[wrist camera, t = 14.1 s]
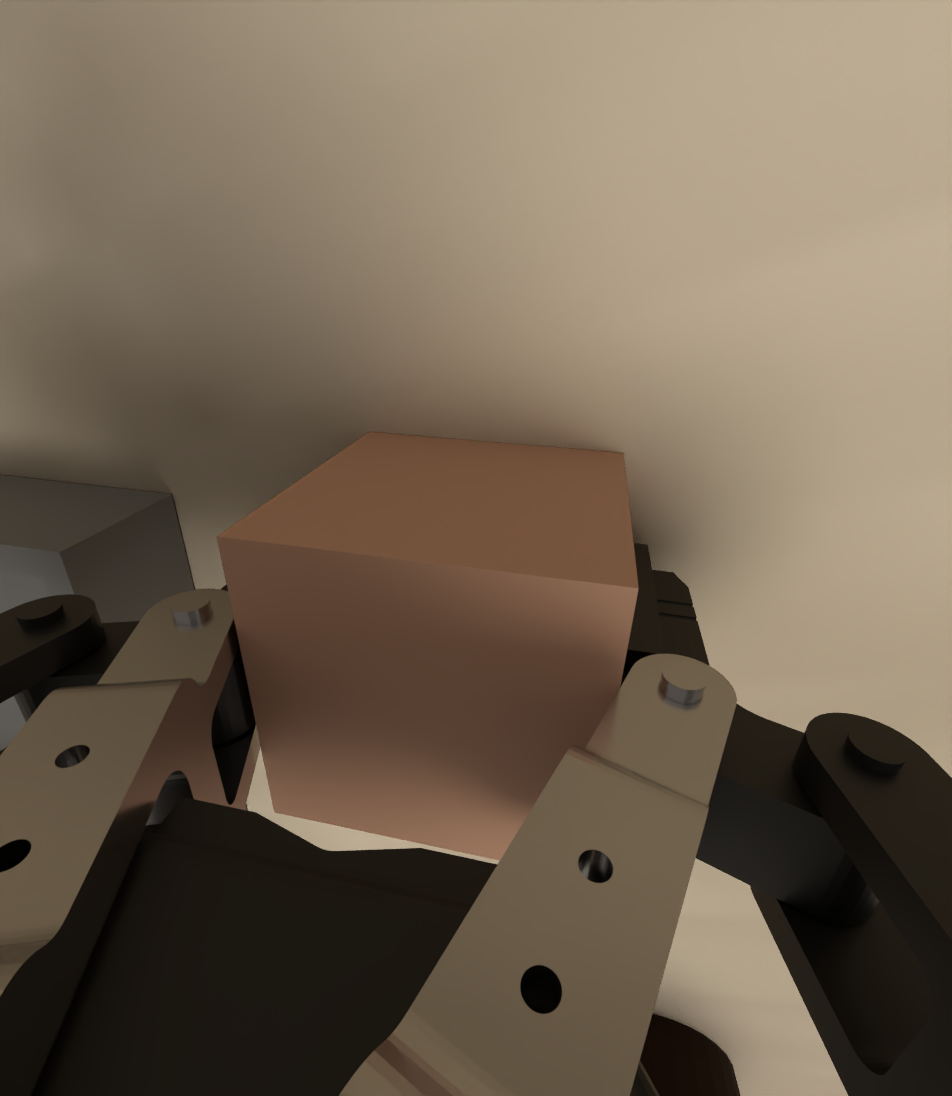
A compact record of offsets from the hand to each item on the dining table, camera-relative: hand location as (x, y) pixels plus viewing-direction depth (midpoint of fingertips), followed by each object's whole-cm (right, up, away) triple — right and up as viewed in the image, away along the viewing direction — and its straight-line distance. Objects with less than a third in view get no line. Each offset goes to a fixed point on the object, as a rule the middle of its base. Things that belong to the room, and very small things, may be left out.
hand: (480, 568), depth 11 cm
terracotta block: (0, 0, 0) cm, 0 cm away
